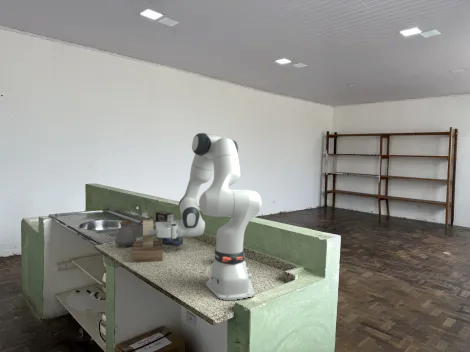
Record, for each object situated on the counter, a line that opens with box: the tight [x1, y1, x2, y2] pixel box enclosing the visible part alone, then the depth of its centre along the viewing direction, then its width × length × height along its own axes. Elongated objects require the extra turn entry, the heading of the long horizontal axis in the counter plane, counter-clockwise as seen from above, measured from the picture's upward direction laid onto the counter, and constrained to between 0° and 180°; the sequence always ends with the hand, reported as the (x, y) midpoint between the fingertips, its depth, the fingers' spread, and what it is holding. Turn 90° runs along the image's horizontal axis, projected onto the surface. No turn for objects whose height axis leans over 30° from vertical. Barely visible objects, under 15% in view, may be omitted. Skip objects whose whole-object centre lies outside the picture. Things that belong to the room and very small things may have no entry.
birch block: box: [142, 219, 154, 247], centre depth 167 cm, size 5×5×13 cm
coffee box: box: [155, 210, 175, 240], centre depth 200 cm, size 9×6×16 cm
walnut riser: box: [132, 239, 164, 263], centre depth 167 cm, size 20×14×5 cm
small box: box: [161, 236, 184, 247], centre depth 189 cm, size 11×6×10 cm, turn 73°
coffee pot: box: [114, 216, 154, 247], centre depth 186 cm, size 21×12×15 cm, turn 124°
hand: (146, 229), depth 166 cm, fingers open, 8 cm apart
